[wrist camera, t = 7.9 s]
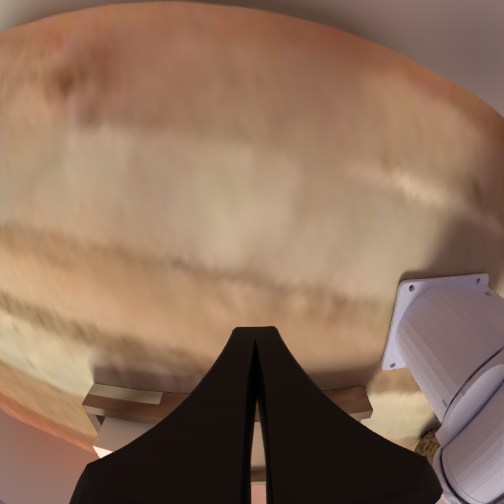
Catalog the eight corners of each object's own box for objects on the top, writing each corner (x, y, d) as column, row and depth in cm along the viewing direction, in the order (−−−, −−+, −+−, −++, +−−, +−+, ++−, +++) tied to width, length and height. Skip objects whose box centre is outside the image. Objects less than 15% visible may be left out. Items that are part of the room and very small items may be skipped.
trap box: (363, 385, 22) (373, 410, 19) (340, 456, 26) (344, 476, 23) (93, 383, 22) (81, 404, 19) (130, 453, 26) (123, 472, 23)
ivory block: (171, 421, 22) (161, 462, 17) (179, 455, 23) (172, 491, 19) (109, 409, 21) (92, 445, 17) (124, 444, 23) (112, 477, 19)
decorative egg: (462, 415, 25) (494, 469, 16) (428, 450, 27) (451, 503, 18) (430, 414, 24) (464, 480, 15) (393, 452, 26) (415, 514, 17)
